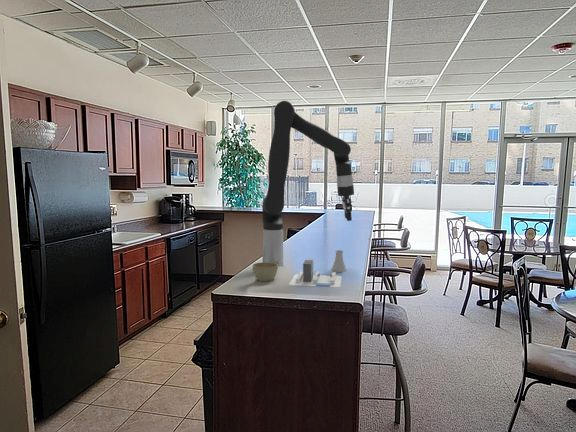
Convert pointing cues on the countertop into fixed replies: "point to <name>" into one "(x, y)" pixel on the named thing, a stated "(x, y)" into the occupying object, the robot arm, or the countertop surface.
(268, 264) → the flower pot
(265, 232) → the robot arm
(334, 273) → the board
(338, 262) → the flask
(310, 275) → the grey rectangular block
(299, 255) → the countertop surface
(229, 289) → the countertop surface
